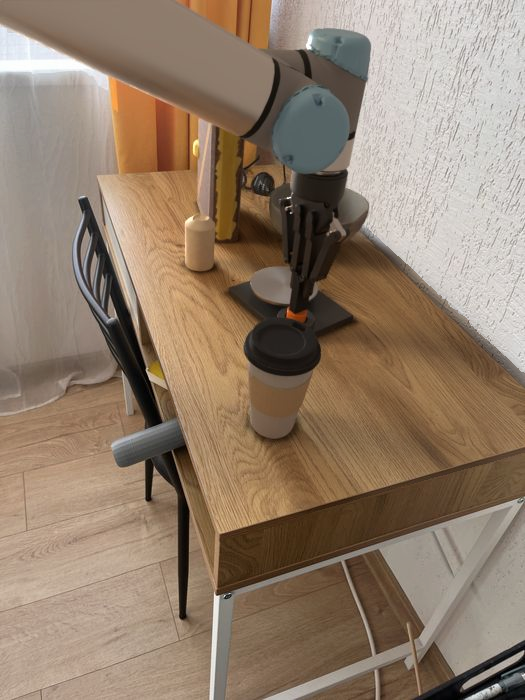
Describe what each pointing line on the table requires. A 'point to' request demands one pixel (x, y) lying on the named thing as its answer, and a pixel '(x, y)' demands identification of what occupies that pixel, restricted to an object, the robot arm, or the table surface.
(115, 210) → the table surface
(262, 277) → the scale pan
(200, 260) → the candle
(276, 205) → the bowl
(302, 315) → the tare button
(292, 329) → the coffee cup
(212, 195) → the book
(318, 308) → the scale
